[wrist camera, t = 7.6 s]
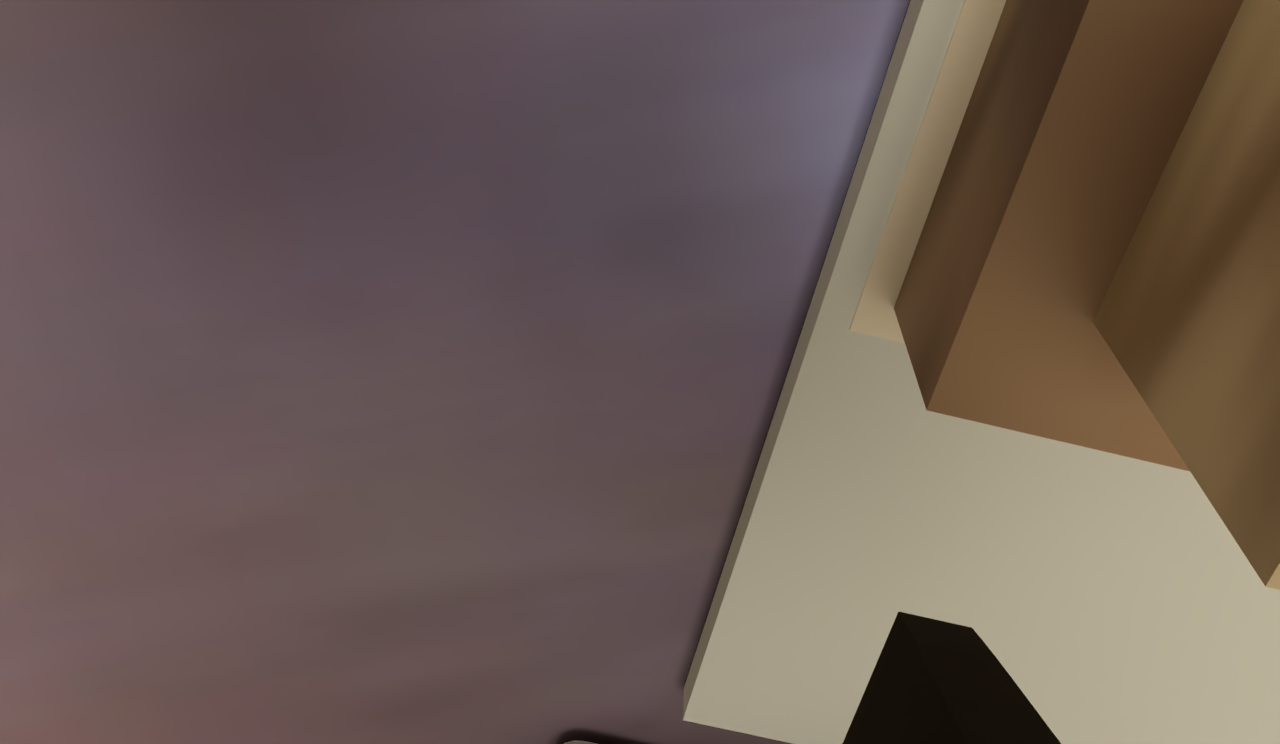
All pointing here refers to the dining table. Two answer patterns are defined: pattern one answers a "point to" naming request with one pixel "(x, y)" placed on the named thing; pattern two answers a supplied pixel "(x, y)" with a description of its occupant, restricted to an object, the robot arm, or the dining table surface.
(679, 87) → the dining table surface
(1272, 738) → the plain cream board
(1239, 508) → the light wooden cube
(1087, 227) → the walnut slab
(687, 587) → the dining table surface
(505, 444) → the dining table surface
